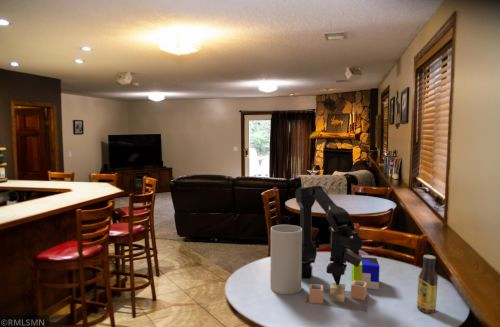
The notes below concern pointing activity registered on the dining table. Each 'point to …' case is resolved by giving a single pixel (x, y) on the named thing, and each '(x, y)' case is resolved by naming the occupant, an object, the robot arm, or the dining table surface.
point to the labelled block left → (316, 293)
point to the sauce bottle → (427, 285)
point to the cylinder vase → (286, 259)
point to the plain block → (337, 292)
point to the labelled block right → (359, 290)
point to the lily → (361, 253)
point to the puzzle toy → (367, 272)
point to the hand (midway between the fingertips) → (337, 284)
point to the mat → (347, 304)
